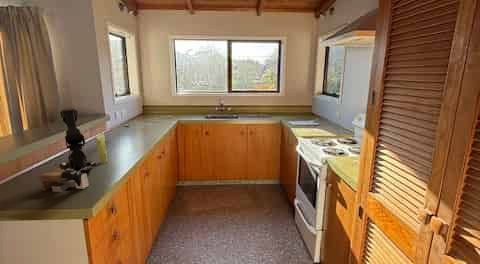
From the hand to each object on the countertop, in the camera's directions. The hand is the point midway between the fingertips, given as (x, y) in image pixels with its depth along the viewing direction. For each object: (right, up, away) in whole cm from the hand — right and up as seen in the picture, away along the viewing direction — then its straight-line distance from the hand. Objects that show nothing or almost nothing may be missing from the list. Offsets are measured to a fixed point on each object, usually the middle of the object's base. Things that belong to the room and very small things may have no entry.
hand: (82, 184), depth 140 cm
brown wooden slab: (-13, -1, +4) cm, 13 cm away
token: (-11, -3, -1) cm, 11 cm away
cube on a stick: (-6, -1, +1) cm, 6 cm away
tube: (-9, +7, +40) cm, 41 cm away
